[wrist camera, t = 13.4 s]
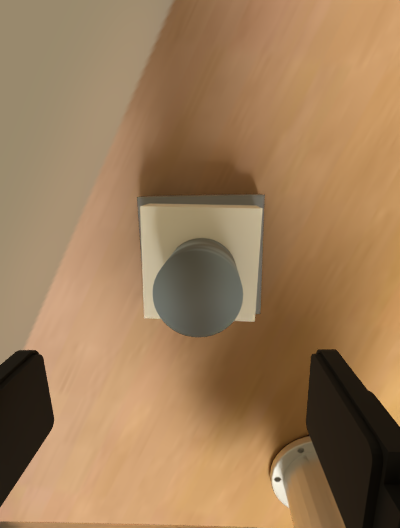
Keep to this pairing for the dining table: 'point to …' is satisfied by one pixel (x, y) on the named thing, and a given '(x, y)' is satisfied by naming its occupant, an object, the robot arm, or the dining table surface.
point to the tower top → (201, 226)
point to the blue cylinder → (198, 289)
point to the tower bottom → (214, 200)
